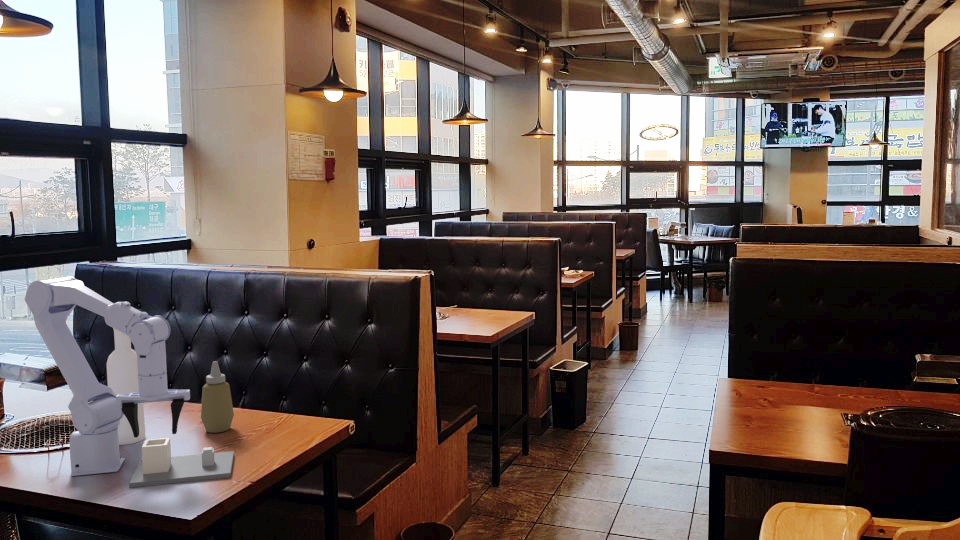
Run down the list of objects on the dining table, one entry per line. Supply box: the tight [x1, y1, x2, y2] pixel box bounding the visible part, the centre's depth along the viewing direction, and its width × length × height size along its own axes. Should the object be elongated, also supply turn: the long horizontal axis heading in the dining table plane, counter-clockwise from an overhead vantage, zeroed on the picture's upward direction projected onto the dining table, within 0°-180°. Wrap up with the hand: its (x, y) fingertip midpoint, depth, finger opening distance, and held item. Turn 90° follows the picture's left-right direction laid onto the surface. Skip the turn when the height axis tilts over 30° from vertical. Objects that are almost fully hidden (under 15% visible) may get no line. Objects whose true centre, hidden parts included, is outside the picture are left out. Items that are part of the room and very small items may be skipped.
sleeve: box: [141, 437, 172, 474], centre depth 160 cm, size 5×5×6 cm
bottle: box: [106, 328, 146, 446], centre depth 181 cm, size 8×8×30 cm
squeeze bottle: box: [200, 360, 235, 434], centre depth 189 cm, size 8×8×18 cm
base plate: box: [128, 446, 235, 489], centre depth 162 cm, size 20×14×4 cm
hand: (155, 434), depth 160 cm, fingers open, 7 cm apart
